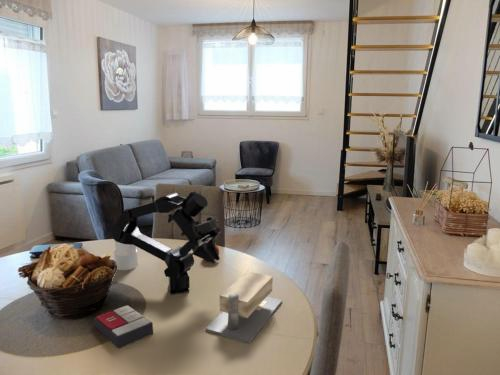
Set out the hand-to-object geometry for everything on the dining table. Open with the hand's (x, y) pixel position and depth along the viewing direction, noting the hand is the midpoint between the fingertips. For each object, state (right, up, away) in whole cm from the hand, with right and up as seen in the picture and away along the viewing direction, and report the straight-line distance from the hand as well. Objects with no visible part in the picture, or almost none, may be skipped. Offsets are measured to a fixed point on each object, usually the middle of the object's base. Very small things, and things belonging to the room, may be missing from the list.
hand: (216, 261), depth 136 cm
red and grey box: (-26, -18, -16) cm, 35 cm away
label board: (+10, -16, -7) cm, 20 cm away
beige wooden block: (+10, -15, -7) cm, 19 cm away
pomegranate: (-5, -6, +36) cm, 37 cm away
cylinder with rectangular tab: (-38, -7, +29) cm, 49 cm away
